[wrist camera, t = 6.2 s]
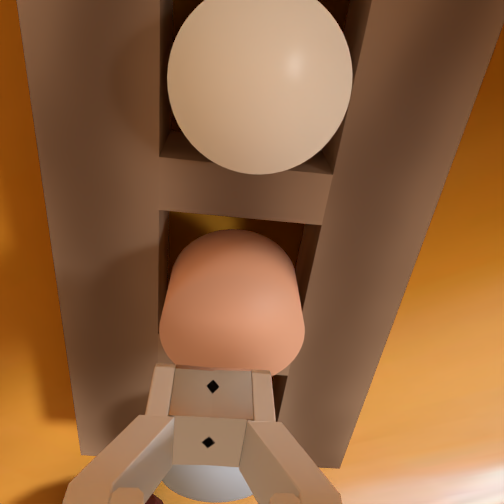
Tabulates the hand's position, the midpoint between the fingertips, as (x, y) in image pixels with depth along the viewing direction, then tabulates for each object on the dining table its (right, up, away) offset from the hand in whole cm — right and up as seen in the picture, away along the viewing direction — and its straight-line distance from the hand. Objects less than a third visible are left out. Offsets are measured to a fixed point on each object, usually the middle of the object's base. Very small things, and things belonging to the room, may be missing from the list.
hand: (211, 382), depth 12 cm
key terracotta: (0, +2, +6) cm, 7 cm away
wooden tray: (0, +4, +9) cm, 10 cm away
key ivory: (+1, +10, +3) cm, 10 cm away
